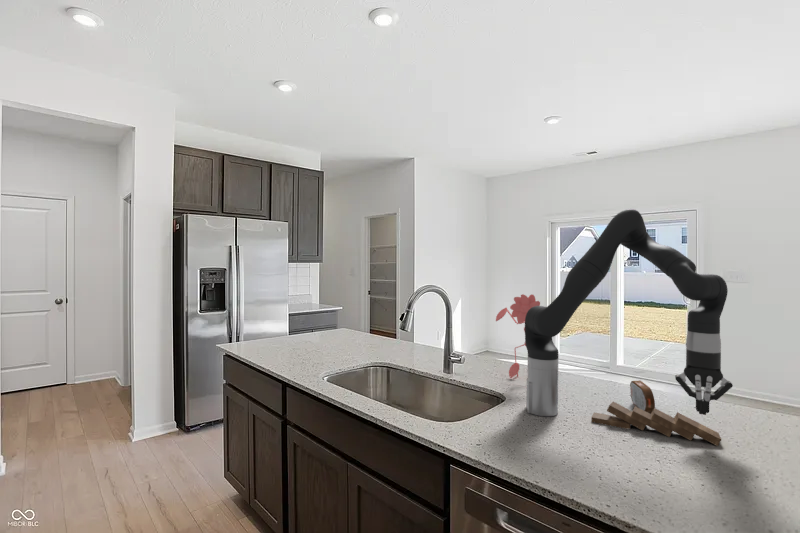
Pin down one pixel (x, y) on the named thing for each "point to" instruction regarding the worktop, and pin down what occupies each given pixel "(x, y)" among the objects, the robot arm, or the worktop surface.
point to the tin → (642, 396)
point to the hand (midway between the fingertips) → (702, 413)
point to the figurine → (518, 319)
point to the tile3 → (649, 421)
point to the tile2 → (624, 415)
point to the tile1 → (610, 420)
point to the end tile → (697, 429)
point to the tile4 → (670, 423)
